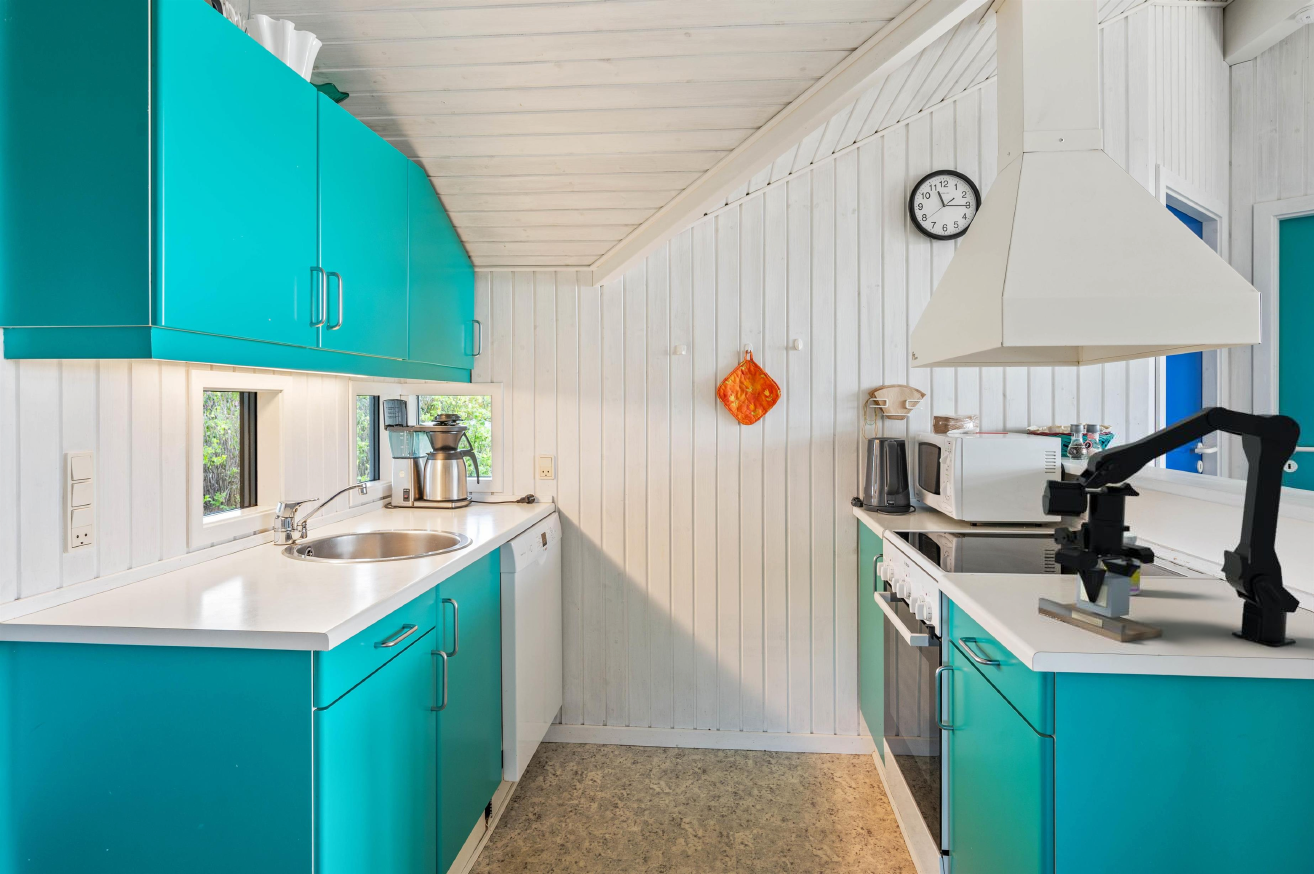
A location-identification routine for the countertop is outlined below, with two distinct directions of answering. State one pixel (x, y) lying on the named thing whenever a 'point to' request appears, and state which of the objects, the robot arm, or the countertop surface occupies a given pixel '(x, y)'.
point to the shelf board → (1098, 621)
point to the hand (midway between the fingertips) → (1102, 601)
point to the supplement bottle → (1136, 577)
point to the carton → (1107, 596)
